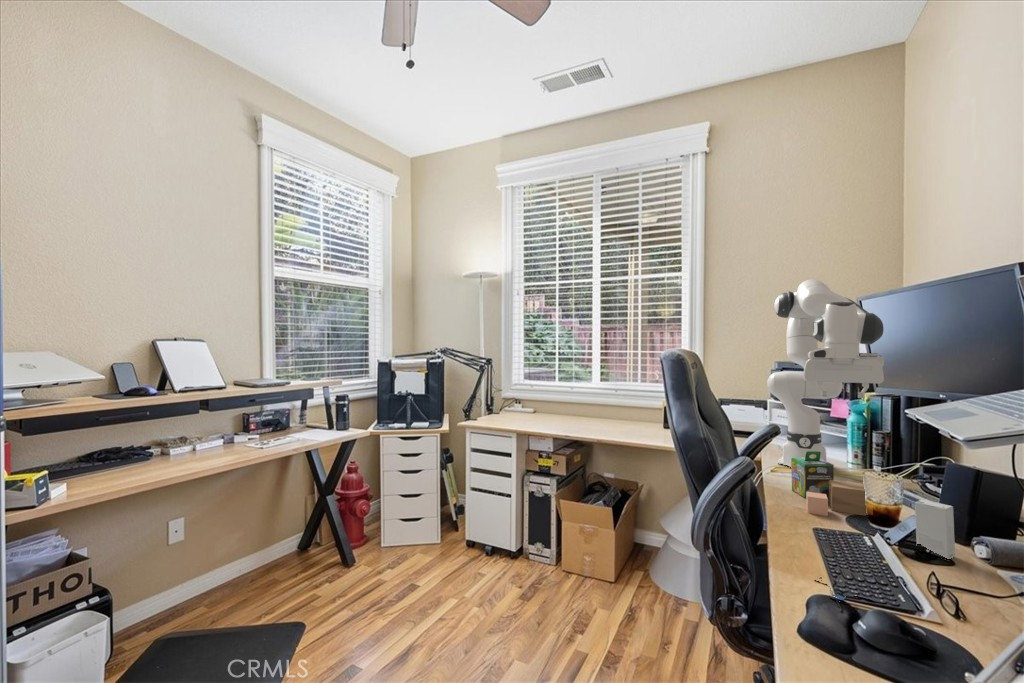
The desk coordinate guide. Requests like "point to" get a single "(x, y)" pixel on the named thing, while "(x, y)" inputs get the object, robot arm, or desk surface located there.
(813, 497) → the cube
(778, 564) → the desk surface
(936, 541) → the skincare box
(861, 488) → the block
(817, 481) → the chalk box
